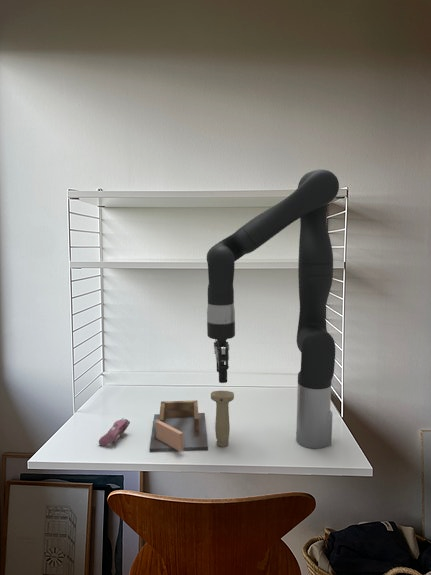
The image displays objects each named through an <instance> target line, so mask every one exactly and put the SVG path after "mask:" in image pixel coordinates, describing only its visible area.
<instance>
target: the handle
mask: <svg viewBox="0 0 431 575" xmlns="http://www.w3.org/2000/svg"><path fill="white" fill-rule="evenodd" d="M210 399H211V401H213V402H215V405H216V410H215V422H214V424H215V426H214V427H215V428H214V430H215V439H216V445H217V446H220V447H221V448H222V447H227V446H228V445H229V438H230V413H229V412H230V409H229V408H230V407H229V403H230V402H232V401H233V400H234V399H235V393H234V391H230V390H214V391H212V392H211V393H210Z"/></svg>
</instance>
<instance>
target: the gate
mask: <svg viewBox="0 0 431 575" xmlns="http://www.w3.org/2000/svg"><path fill="white" fill-rule="evenodd" d="M153 421H154V438H157V439H159V440H160V441H162V442H164V443H166V444H167V445H169V446H171V447H173V448H174V449H176V450H178V451H177V452H183V451H182V450H183V432H181V431H179V430H177V429H175V428H173V427H171V426H169V425H167V424H165V423H163V422H161V421H160V420H159V419H155V420H154V419H153Z"/></svg>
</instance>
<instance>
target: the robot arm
mask: <svg viewBox="0 0 431 575" xmlns="http://www.w3.org/2000/svg"><path fill="white" fill-rule="evenodd" d="M339 190H340V183H339V179H338V177H337V176H336V174H335V173H333V172H331V171H330V170H327V169H316V170H311V171H308V172H306V173H305V174H304V175H302V177H301V178H300V180H299V181H298V186H297V188H296V189H295V190H294V191H293V192H292V193H291V194H289V195H288V196H287V197H286V198H284V199H282V200H281V201H280V202H278V203H277V204H275V205H273V206H272V207H269V208H268V209H266V210H265V211H263V212H261V213H259V214H258V215H256V216H254V217H253V218H252V219H250V220H249V221H247V222H246V223H245V224H243V225H242V226H241V227H239V228H238V229H236V231H235V232H233V233H232V234H230V235H229V236H227V237H226V238H223V239H221V240H220V241H219V242H217V243H215V245H213V246H212V247H211V248H209V249H208V250H207V253H206V262H207V274H208V275H207V276H208V286H207V308H206V325H207V326H206V328H207V329H206V330H207V332H206V333H207V337H208V338H209V339H212V340H214V342H213V349H214V350H213V351H214V352H213V353H214V356H215V361H216V372H217V373H218V383H220V384H226V383H228V370H229V368H230V366H229V360H230V353H229V351H230V344H229V341H227V340H230V339H233V338H235V336H236V310H235V299H234V298H235V293H234V292H235V290H234V279H235V267H236V266H235V262H236V261H238V260H239V259H241V258H242V257H243V256H245V255H248V254H251V253H252V252H254V251H256V250H257V249H259V248H260V247H262V246H264V244H266V243H267V242H268V241H270V240H271V239H273V238H274V237H275V236H276V235H278V234H279V233H280V232H282V231H283V230H284V229H286V228H287V227H289V226H290V225H291V224H292V223H294V222H296V221H298V220H299V221H300V222H299V223H300V226H299V228H300V229H299V230H300V231H299V239H298V240H299V241H298V268H297V269H298V271H297V272H298V273H297V274H298V276H297V277H298V296H299V297H298V299H299V312H298V313H299V315H298V322H297V323H298V325H297V333H296V346H297V348H298V349H299V351H300V353H301V354H300V371H299V372H298V373H297V392H296V394H297V395H296V396H297V398H296V400H297V401H296V402H297V403H296V432H295V434H296V436H295V439H296V440H295V441H296V442H297V444H298V445H301V447H302V446H303V447H305V448H309V449H322V448H326V447H328V446H331V445H332V439H333V438H332V436H333V411H332V410H331V402H332V401H331V400H332V379H333V377H334V375H335V365H336V363H335V362H336V341H335V339H334V338H333V335H331V334H330V332H328V330H327V320H326V315H327V314H326V309H327V308H326V307H327V303H328V298H329V295H330V292H331V288H332V284H333V277H334V252H333V248H332V247H333V246H332V243H331V237H330V234H329V228H328V208H329V204H330V203H331V202H333V201H334V200H335V198H336V197H337V195H338V193H339Z"/></svg>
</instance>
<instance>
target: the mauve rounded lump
mask: <svg viewBox="0 0 431 575" xmlns="http://www.w3.org/2000/svg"><path fill="white" fill-rule="evenodd" d="M130 424H131V421H130V420H129V419H126V418H124V417H122V418H120V419H119V420H118V419H117V420H116V421H115V422H114V423H113V425H112V426H111V427H110V428H109V430H108V431H107V433H106V434H104V435H102V436H101V437H100V438H99V439H98V444H99V445H100V446H102V447H105V446H107V445H109V444H111V443H113V444H115V443H116V442H117V440H118V439H120V438H122V437H123V436H124V433H125V431H126V430H127V429H128V427H129V426H130Z"/></svg>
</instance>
